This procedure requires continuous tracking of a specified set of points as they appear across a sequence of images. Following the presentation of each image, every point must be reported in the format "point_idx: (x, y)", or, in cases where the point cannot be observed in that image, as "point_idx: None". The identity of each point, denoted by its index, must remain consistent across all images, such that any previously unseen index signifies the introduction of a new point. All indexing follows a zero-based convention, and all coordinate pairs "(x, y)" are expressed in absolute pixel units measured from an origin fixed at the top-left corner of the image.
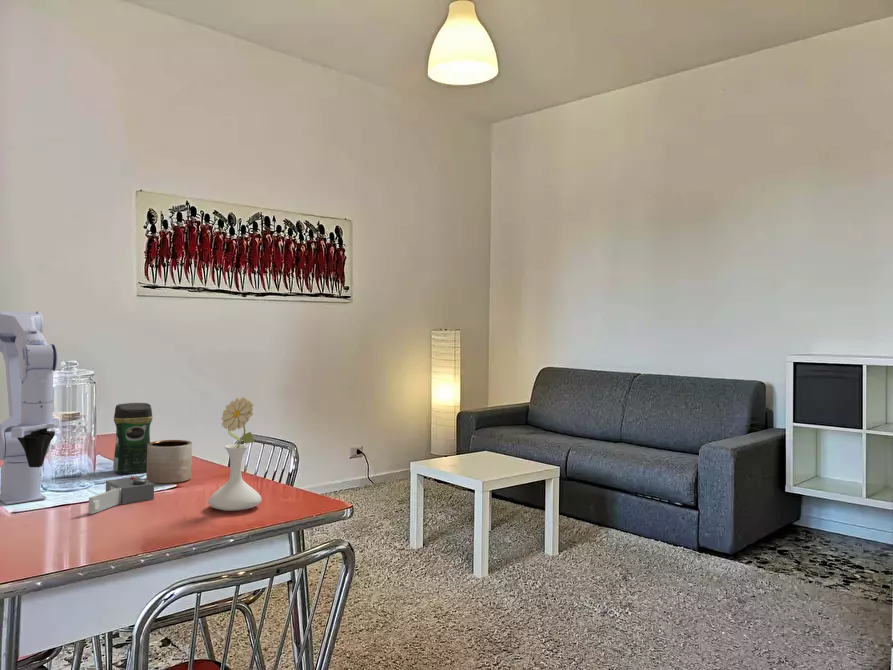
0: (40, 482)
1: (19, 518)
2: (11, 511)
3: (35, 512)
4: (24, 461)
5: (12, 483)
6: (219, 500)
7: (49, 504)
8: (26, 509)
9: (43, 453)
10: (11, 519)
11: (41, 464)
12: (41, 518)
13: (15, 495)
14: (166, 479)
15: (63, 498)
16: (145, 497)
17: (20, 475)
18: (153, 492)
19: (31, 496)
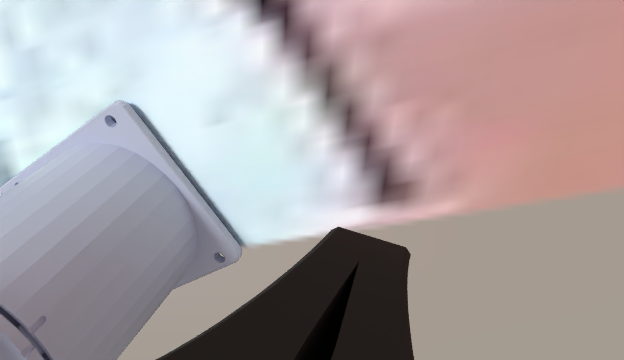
0: (32, 177)
1: (544, 141)
2: (364, 210)
3: (406, 85)
4: (35, 353)
5: (149, 302)
6: None
7: (222, 53)
8: (328, 149)
9: (311, 329)
10: (557, 179)
11: (361, 245)
12: (588, 4)
13: (184, 246)
14: None
15: (89, 10)
16: None
17: (110, 301)
18: None
19: (151, 174)
